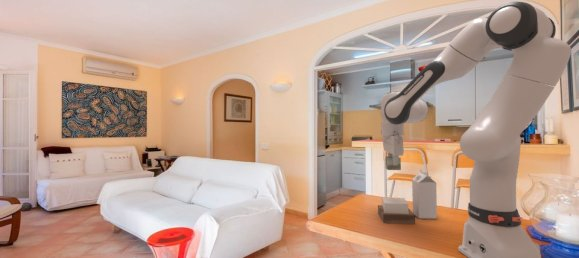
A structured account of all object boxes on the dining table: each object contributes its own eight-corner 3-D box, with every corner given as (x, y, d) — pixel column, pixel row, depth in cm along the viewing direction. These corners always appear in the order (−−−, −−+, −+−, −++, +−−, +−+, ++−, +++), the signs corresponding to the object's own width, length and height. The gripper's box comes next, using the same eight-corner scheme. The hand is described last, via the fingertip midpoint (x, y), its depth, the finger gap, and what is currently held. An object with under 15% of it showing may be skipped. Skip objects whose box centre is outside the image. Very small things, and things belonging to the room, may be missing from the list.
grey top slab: (408, 214, 104) (408, 204, 104) (384, 212, 106) (384, 203, 106) (404, 207, 113) (404, 198, 113) (382, 206, 115) (382, 197, 115)
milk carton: (429, 213, 114) (428, 170, 114) (437, 219, 107) (436, 173, 107) (412, 213, 115) (411, 170, 115) (418, 218, 108) (418, 173, 107)
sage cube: (400, 170, 107) (400, 157, 107) (388, 170, 108) (387, 157, 107) (397, 168, 112) (397, 156, 112) (385, 167, 113) (385, 156, 112)
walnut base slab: (415, 225, 102) (415, 215, 102) (383, 224, 104) (383, 214, 104) (406, 215, 114) (406, 205, 114) (378, 214, 116) (377, 205, 116)
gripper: (407, 131, 99) (408, 168, 99) (394, 130, 119) (395, 160, 119) (390, 132, 100) (390, 168, 100) (380, 130, 120) (380, 160, 120)
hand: (393, 163), depth 110 cm, fingers closed on sage cube, 5 cm apart
